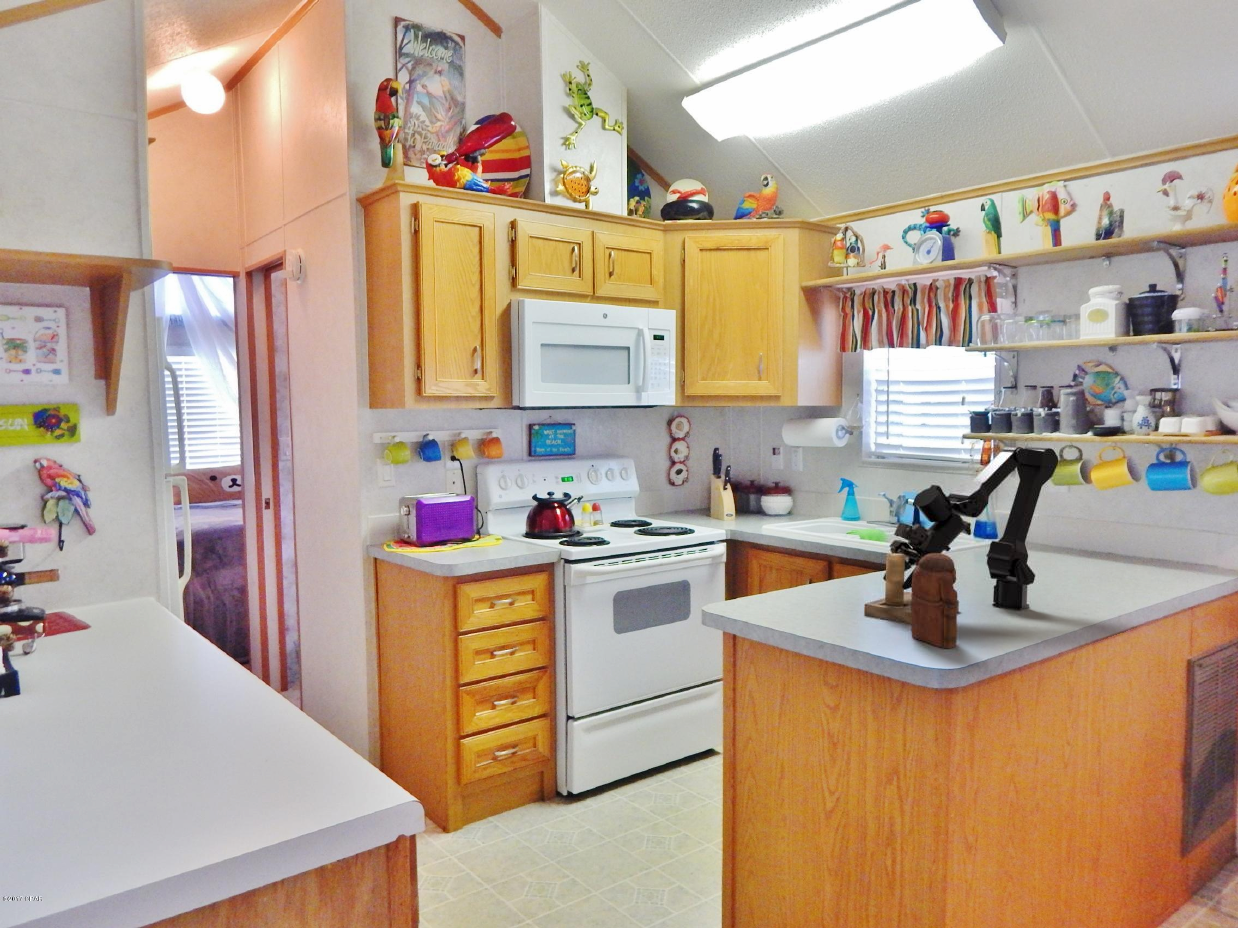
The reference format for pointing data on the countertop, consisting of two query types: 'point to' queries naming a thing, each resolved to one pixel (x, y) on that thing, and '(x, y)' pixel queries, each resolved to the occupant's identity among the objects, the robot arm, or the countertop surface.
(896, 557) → the oak peg
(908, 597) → the walnut board
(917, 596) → the wooden figurine
